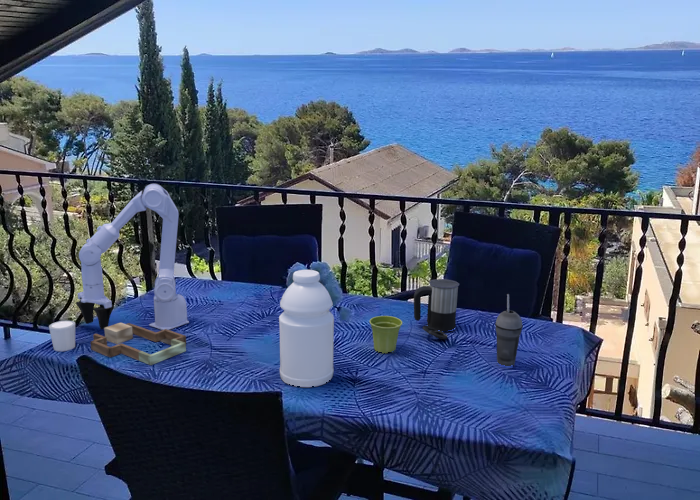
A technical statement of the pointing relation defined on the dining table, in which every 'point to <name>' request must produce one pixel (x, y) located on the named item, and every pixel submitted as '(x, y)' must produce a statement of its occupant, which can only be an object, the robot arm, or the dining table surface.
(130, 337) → the oak block
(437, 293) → the milk frother
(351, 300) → the dining table surface
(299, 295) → the bottle
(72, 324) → the white tapered cup
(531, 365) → the dining table surface
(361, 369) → the dining table surface
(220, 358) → the dining table surface
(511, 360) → the beverage cup
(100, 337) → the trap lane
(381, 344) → the plant pot
